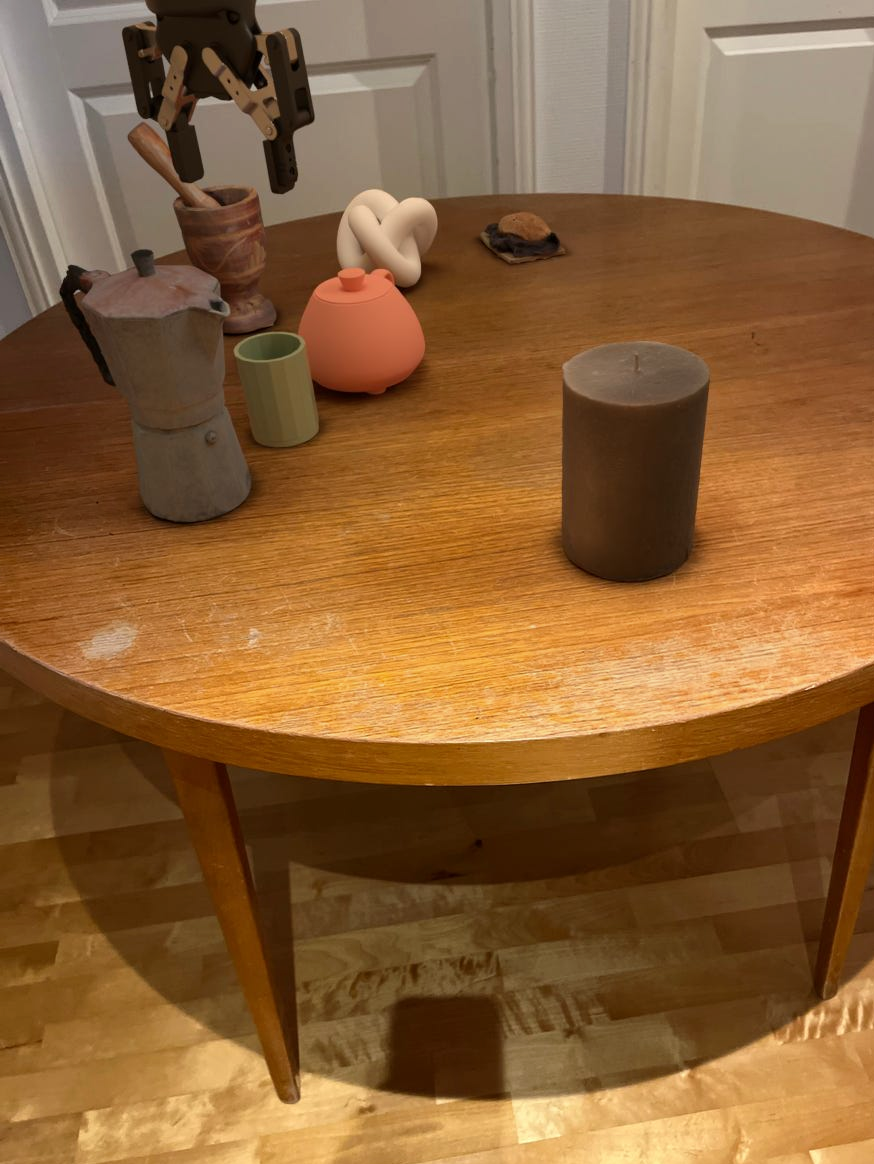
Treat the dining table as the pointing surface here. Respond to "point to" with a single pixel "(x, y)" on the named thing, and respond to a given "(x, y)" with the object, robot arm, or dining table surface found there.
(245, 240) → the mortar and pestle
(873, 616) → the dining table surface
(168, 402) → the moka pot
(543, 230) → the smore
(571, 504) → the pillar candle
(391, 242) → the cream knot sculpture
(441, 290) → the dining table surface
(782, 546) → the dining table surface
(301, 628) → the dining table surface
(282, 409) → the cup
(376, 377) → the sugar bowl
